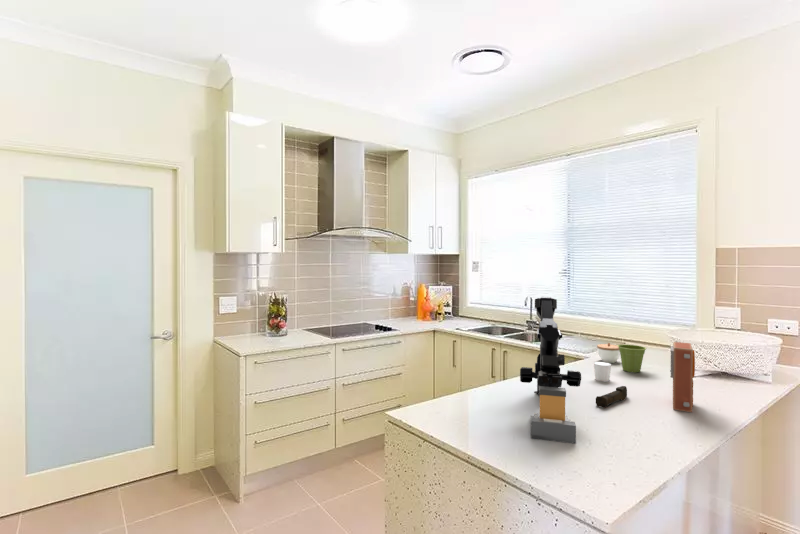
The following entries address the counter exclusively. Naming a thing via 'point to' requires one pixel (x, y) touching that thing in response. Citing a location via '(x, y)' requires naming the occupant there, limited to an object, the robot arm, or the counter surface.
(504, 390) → the counter surface
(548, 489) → the counter surface
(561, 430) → the base
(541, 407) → the handle
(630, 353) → the plant pot
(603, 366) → the white cup
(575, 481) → the counter surface
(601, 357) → the lidded jar
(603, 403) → the hand tool
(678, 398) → the brown case
